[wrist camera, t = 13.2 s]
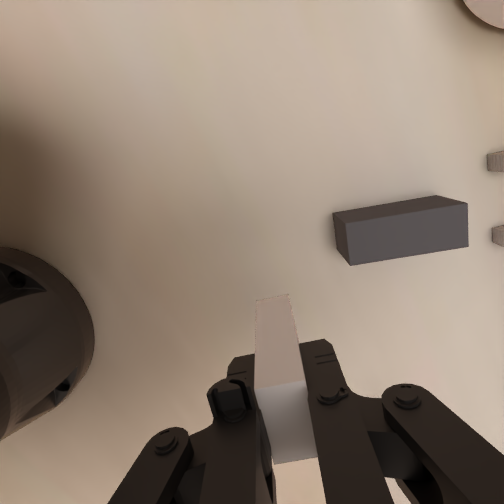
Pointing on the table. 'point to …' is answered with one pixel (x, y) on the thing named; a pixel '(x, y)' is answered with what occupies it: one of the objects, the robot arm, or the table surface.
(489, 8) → the cup
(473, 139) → the table surface
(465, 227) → the charcoal brick
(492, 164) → the clip
